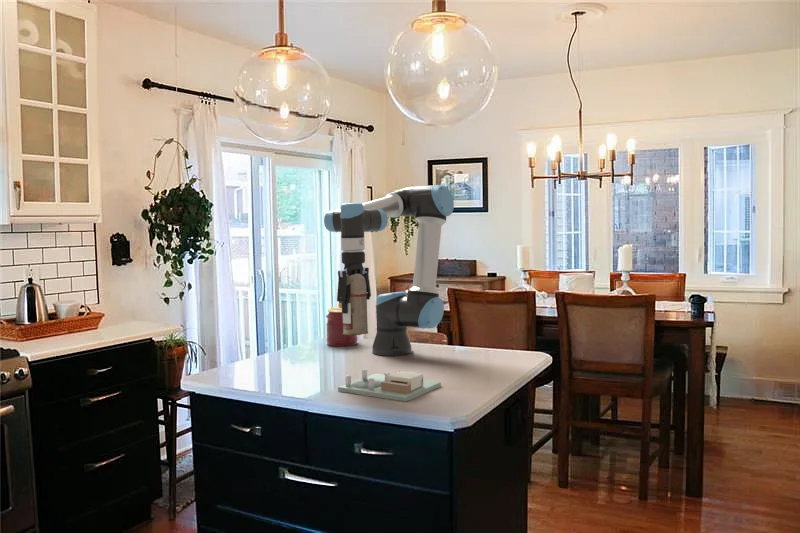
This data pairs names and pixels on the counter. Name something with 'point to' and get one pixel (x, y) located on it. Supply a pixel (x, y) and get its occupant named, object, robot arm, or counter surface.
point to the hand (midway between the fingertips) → (355, 321)
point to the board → (390, 394)
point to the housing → (407, 378)
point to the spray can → (357, 306)
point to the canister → (338, 329)
